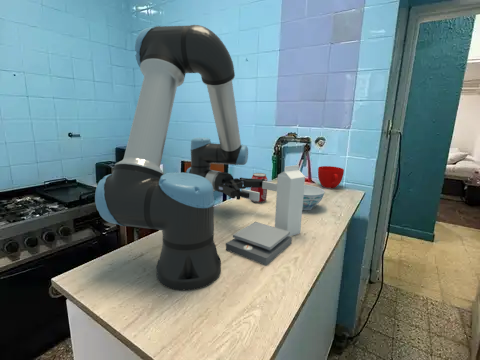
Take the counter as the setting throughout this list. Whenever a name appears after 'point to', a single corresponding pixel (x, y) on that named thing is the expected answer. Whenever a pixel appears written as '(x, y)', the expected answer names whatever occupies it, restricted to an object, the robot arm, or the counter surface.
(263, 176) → the soda can
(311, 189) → the chinaware
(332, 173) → the ceramic cup
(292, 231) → the milk
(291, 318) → the counter surface
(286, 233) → the kitchen scale
